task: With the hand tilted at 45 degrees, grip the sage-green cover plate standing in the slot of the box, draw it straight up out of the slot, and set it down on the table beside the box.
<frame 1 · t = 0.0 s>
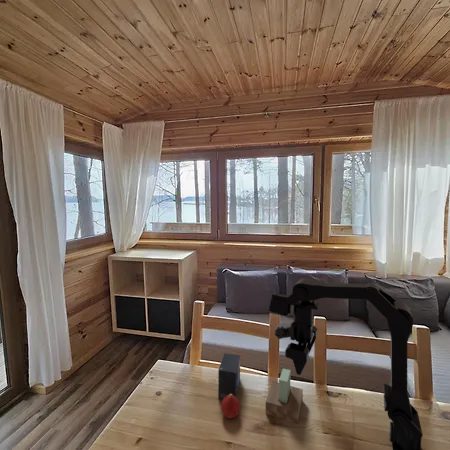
hand: (302, 366, 86), 15 cm above the table, tool pointing down, fingers open, 9 cm apart
small box: (229, 389, 96), on the table
slotted box: (284, 409, 87), on the table
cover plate: (284, 406, 86), point 1 cm above the table, touching slotted box
onion: (230, 418, 84), on the table
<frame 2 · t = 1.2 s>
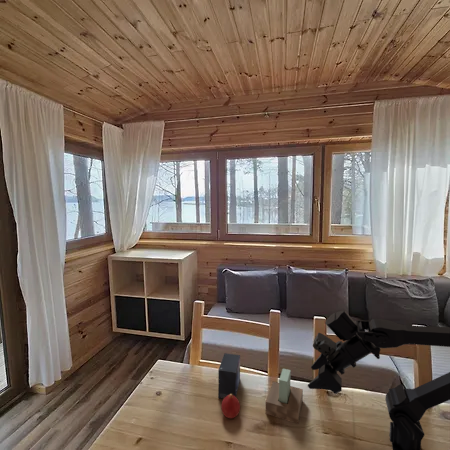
hand: (310, 377, 82), 13 cm above the table, tool tilted 45°, fingers open, 9 cm apart
nothing on the table moved.
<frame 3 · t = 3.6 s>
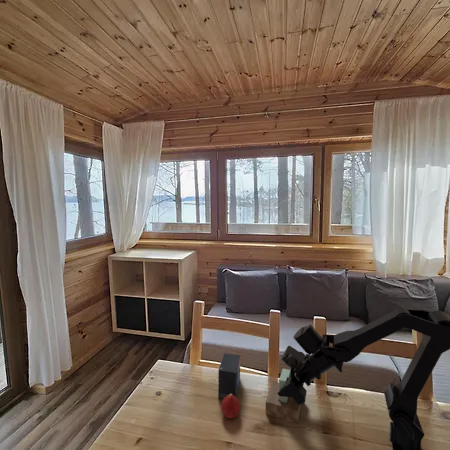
hand: (280, 387, 86), 7 cm above the table, tool tilted 45°, fingers closed on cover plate, 6 cm apart
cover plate: (284, 406, 86), point 1 cm above the table, touching gripper, slotted box
everything else where it was.
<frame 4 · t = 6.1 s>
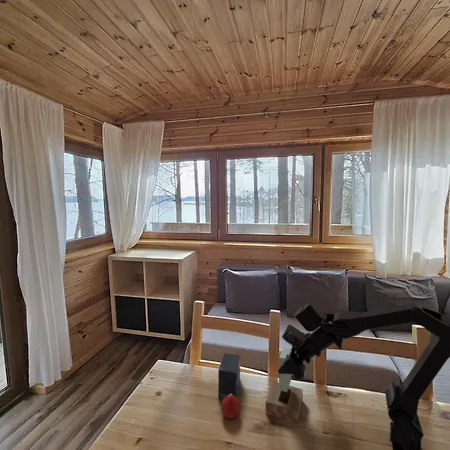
hand: (281, 366, 87), 14 cm above the table, tool tilted 45°, fingers closed on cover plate, 6 cm apart
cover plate: (285, 385, 87), point 7 cm above the table, touching gripper
everything else where it was.
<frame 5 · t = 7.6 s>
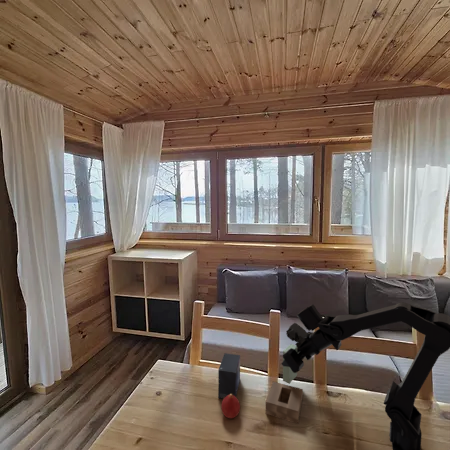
hand: (286, 360, 96), 10 cm above the table, tool tilted 45°, fingers closed on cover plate, 6 cm apart
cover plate: (290, 377, 95), point 4 cm above the table, touching gripper
everything else where it was.
when the fingers open (7 cm above the table, at t = 8.7 s): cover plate drops 1 cm, on the table.
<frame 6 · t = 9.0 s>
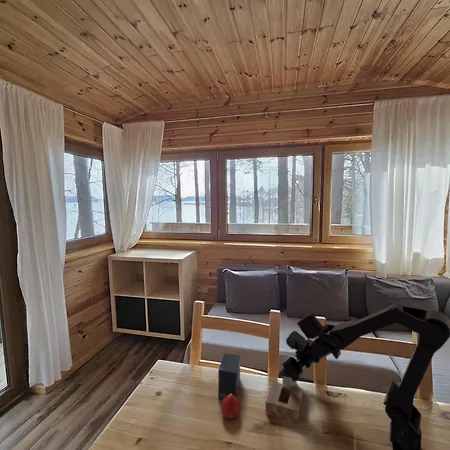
hand: (286, 367, 96), 8 cm above the table, tool tilted 45°, fingers open, 9 cm apart
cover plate: (289, 389, 96), on the table
everything else where it was.
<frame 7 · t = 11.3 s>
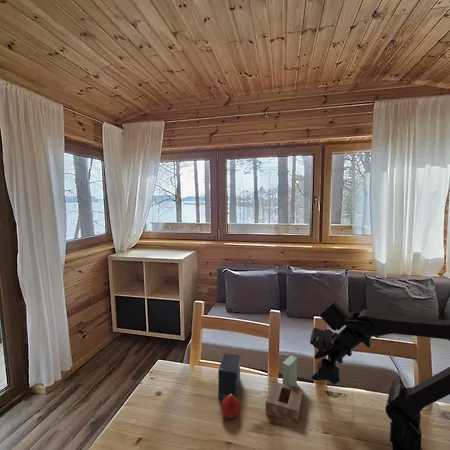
hand: (314, 367, 88), 12 cm above the table, tool tilted 35°, fingers open, 9 cm apart
nothing on the table moved.
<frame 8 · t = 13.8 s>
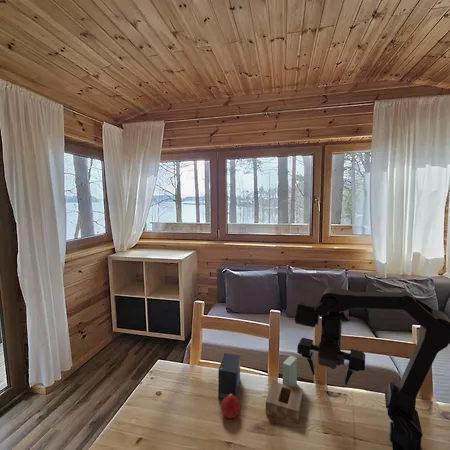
hand: (329, 379, 82), 13 cm above the table, tool pointing down, fingers open, 9 cm apart
nothing on the table moved.
at the end: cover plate inside the target area (0.8 cm from its centre), on the table; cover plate touching table; the gripper is holding nothing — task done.
